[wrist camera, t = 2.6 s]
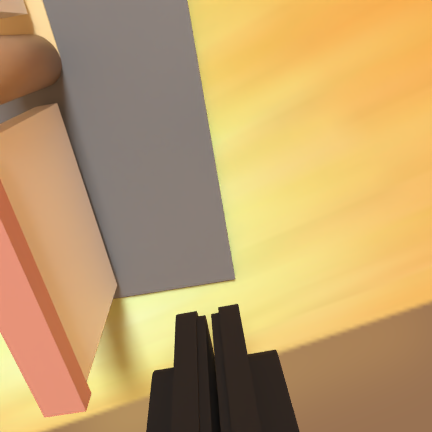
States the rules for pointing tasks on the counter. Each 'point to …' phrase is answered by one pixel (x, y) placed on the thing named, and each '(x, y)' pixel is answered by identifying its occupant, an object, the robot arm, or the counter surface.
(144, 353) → the counter surface
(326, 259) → the counter surface
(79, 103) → the card
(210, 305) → the counter surface
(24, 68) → the fence fixed
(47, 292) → the fence gate
